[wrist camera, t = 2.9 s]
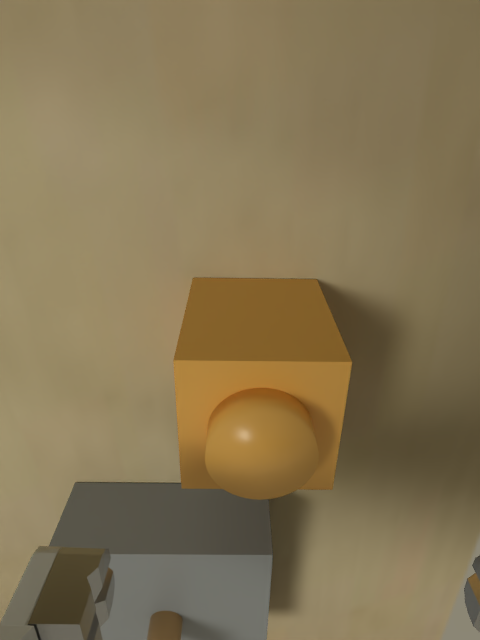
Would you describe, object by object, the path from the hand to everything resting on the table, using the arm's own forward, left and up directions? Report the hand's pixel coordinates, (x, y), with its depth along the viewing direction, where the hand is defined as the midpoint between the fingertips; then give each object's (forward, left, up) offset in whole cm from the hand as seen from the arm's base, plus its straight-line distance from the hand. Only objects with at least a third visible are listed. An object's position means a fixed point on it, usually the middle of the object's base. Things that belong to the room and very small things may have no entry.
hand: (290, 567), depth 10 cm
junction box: (-5, -14, -10) cm, 18 cm away
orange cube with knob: (-1, 0, -10) cm, 10 cm away
